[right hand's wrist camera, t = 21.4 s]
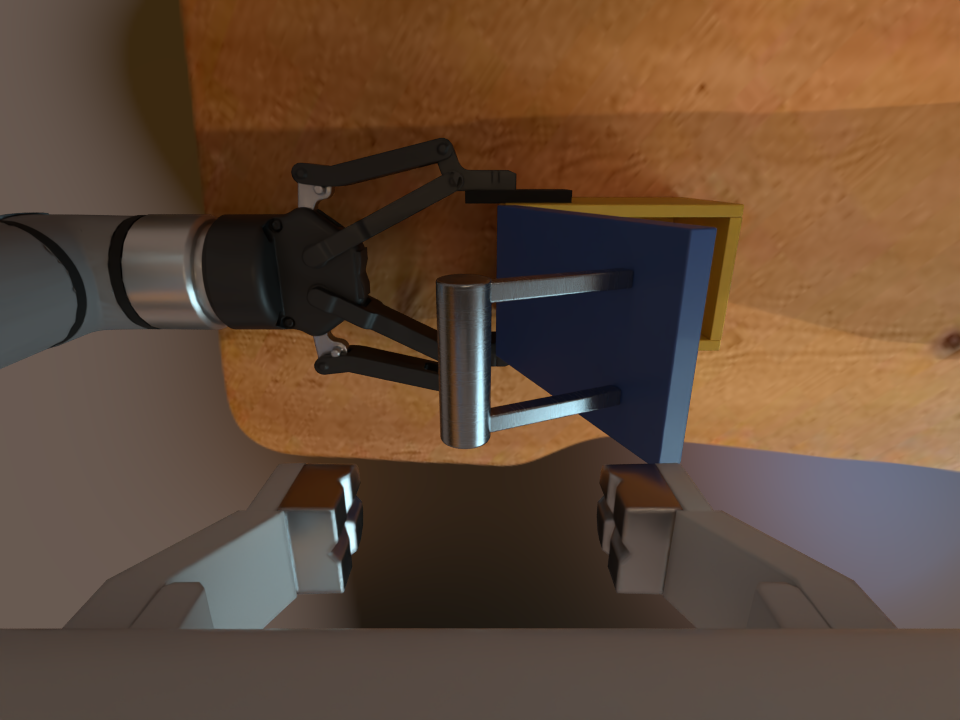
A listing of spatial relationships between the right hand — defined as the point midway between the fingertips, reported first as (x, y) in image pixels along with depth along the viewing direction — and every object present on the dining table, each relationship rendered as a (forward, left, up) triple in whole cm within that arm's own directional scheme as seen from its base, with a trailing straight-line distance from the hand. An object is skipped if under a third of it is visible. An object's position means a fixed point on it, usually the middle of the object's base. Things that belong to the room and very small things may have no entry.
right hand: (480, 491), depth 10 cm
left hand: (-3, -5, -25) cm, 26 cm away
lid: (-3, -4, -15) cm, 16 cm away
